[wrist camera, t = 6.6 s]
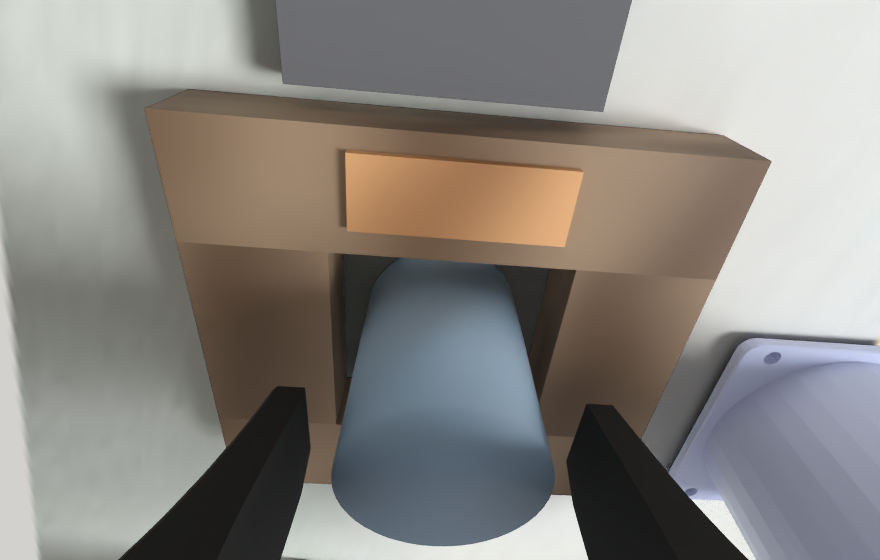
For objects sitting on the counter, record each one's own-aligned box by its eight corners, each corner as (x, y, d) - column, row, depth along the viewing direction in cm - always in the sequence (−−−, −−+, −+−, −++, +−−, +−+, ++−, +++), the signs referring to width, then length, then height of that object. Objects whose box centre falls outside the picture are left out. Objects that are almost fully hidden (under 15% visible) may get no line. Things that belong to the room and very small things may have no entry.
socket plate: (723, 135, 12) (777, 164, 10) (596, 449, 18) (615, 503, 16) (189, 89, 11) (138, 110, 9) (253, 431, 17) (231, 484, 16)
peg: (526, 253, 14) (579, 415, 8) (501, 369, 16) (531, 550, 11) (369, 241, 13) (326, 400, 8) (368, 360, 16) (334, 541, 11)
